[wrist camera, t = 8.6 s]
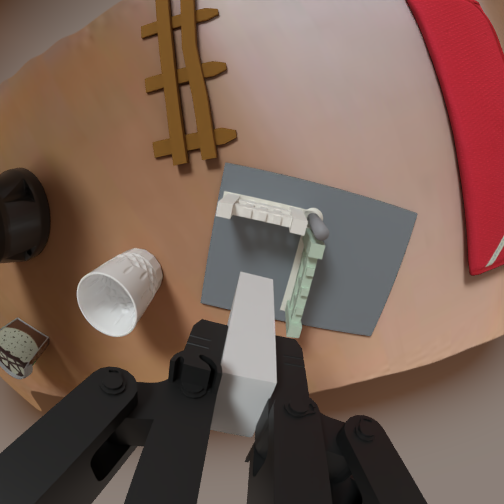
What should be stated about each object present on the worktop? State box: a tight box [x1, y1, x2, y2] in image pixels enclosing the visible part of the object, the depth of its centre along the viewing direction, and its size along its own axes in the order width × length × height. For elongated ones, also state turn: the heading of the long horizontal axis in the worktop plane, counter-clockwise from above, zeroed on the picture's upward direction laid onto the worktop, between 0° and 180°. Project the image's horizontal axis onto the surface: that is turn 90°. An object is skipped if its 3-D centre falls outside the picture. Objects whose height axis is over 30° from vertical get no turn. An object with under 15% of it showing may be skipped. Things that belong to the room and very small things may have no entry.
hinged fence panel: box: [285, 213, 329, 338], centre depth 32 cm, size 13×1×6 cm, turn 170°
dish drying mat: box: [407, 0, 504, 276], centre depth 26 cm, size 16×41×4 cm, turn 15°
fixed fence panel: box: [216, 193, 308, 236], centre depth 30 cm, size 8×1×6 cm, turn 78°
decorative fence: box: [141, 0, 237, 166], centre depth 28 cm, size 25×2×10 cm
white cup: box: [77, 248, 163, 337], centre depth 33 cm, size 8×8×10 cm
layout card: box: [201, 163, 417, 336], centre depth 35 cm, size 24×18×1 cm
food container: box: [0, 317, 49, 379], centre depth 40 cm, size 12×6×10 cm, turn 72°
